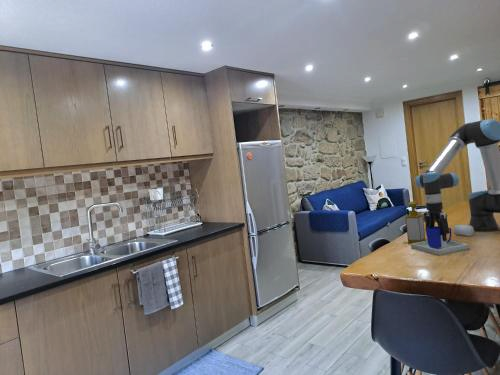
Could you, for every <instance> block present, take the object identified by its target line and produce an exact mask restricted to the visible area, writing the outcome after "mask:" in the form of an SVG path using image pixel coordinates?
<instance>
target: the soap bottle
mask: <svg viewBox="0 0 500 375" xmlns="http://www.w3.org/2000/svg"><path fill="white" fill-rule="evenodd" d="M418 203H419V201H409V202H408V203H407V206H408V207H409V208H411V210H410V211H409V214H407V215H406V216H405V218H404V219H405V226H406V234H407V244H408V245H409V244H410V245H411V244H412V243H418V242H423V241H427V238H426V230H425V223H424V222H425V221H424V213H423V214H421V213H419V214H418V210H417V209H415V207H417V206H418Z"/></svg>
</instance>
